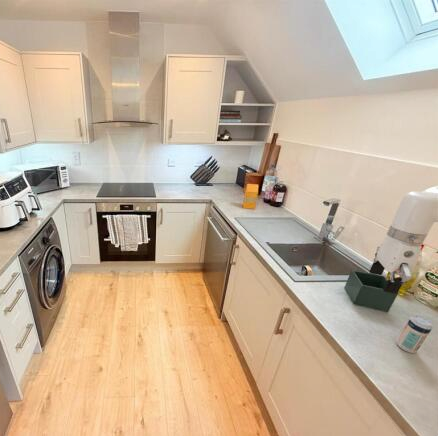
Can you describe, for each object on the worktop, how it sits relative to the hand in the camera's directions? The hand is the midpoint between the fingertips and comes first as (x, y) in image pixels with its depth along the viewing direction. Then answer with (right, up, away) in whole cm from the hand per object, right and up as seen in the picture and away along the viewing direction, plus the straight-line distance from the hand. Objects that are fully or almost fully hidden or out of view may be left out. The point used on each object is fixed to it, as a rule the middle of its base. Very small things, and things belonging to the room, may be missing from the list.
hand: (382, 282), depth 75 cm
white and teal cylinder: (+12, -23, +4) cm, 26 cm away
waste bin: (+17, -14, +24) cm, 33 cm away
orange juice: (+11, +37, +121) cm, 127 cm away
